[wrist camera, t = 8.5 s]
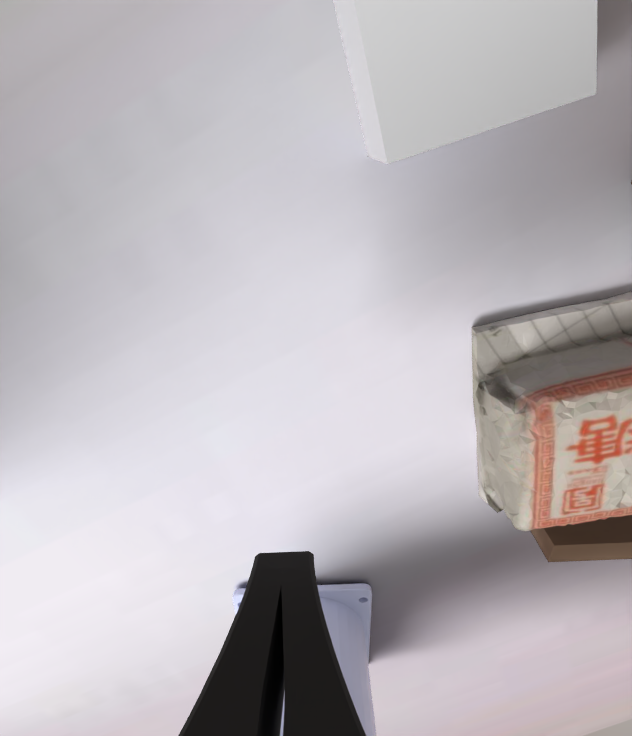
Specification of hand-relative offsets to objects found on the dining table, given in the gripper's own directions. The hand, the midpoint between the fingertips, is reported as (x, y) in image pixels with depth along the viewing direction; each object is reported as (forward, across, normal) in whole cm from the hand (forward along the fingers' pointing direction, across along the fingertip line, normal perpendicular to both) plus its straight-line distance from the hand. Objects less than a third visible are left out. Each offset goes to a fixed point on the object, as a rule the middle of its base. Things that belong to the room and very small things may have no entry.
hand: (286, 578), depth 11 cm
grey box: (+9, -5, -12) cm, 16 cm away
